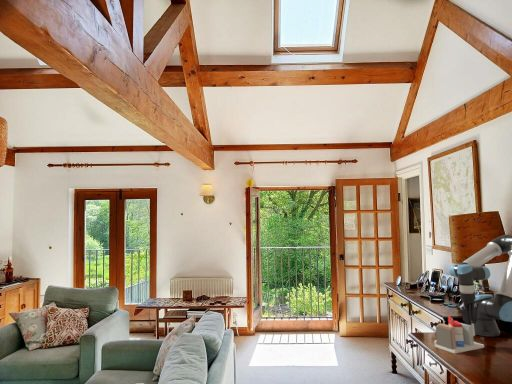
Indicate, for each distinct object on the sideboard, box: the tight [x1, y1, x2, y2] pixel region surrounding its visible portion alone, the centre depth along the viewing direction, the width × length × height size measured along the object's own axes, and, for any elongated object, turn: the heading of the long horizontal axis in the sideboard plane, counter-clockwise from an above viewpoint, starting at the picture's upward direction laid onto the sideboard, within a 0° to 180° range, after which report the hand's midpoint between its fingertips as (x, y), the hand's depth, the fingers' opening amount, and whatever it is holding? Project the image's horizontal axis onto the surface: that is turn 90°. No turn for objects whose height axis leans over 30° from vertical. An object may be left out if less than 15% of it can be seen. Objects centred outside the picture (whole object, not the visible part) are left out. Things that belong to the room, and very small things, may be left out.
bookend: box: [460, 322, 475, 345], centre depth 205 cm, size 2×9×10 cm, turn 21°
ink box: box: [447, 315, 464, 347], centre depth 203 cm, size 8×5×15 cm, turn 168°
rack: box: [434, 323, 485, 354], centre depth 203 cm, size 22×13×12 cm, turn 111°
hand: (472, 335), depth 207 cm, fingers closed
